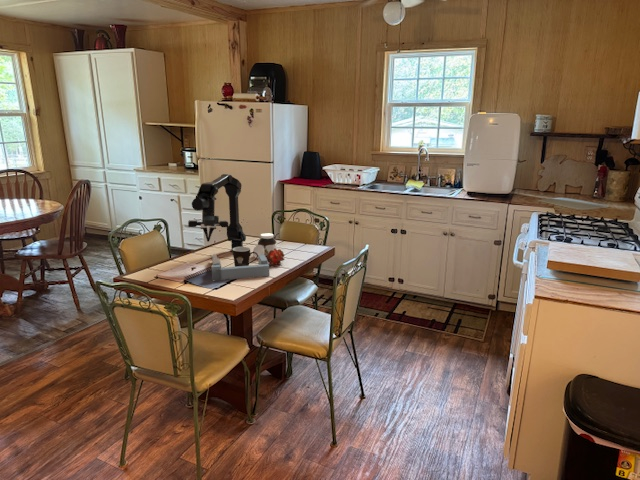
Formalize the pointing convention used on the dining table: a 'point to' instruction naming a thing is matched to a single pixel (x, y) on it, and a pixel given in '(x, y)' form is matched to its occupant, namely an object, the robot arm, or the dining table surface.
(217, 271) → the vise
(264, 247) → the spread jar
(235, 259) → the coffee mug
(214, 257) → the sliding jaw
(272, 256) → the dragon fruit
